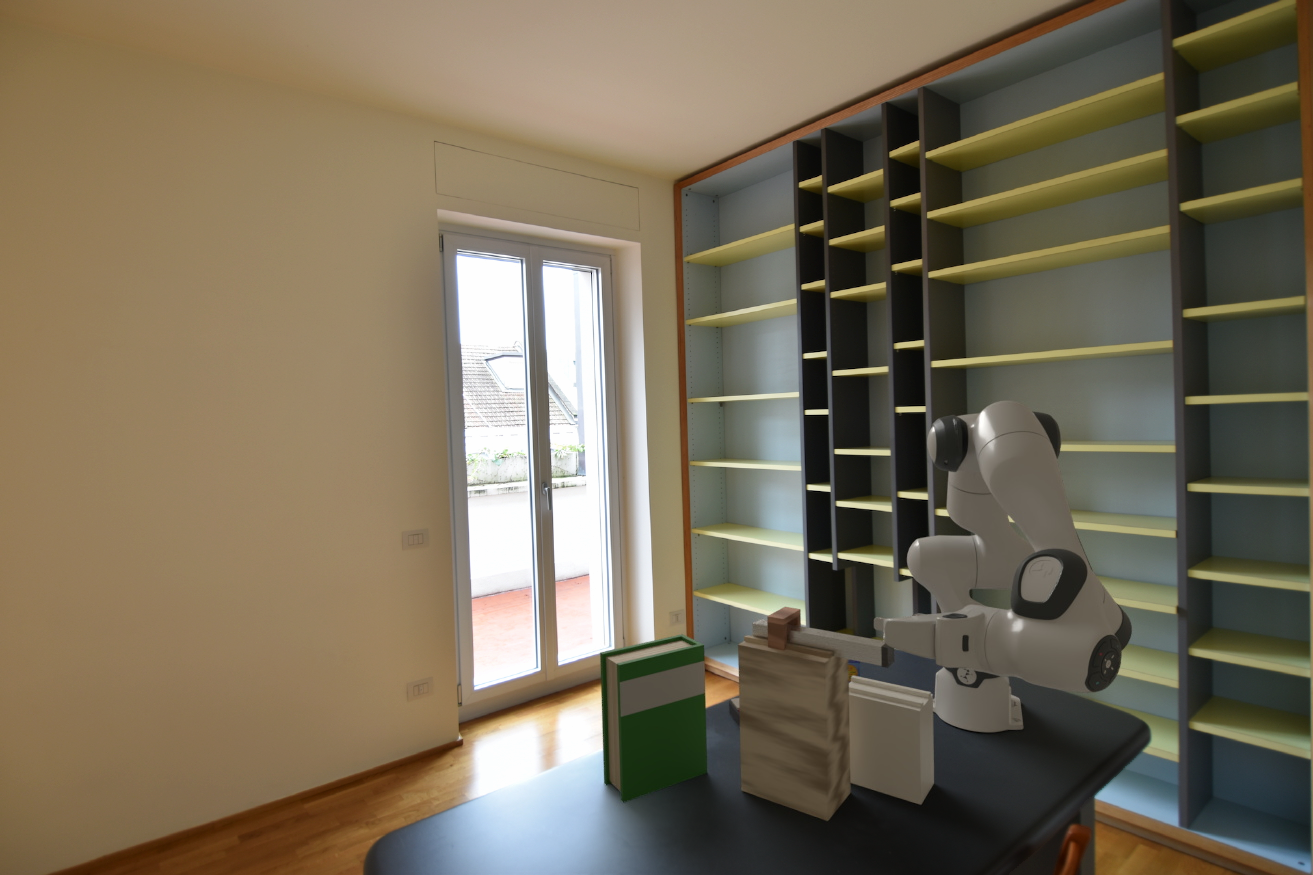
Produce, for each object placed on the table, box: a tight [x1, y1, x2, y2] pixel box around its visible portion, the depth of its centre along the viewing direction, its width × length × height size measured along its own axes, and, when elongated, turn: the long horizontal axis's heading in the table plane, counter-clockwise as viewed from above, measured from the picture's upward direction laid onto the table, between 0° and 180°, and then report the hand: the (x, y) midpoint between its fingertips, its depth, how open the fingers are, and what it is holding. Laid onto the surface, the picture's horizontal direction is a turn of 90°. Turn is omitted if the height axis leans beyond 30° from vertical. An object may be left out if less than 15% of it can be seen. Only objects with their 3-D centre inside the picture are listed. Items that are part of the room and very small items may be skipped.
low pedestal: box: [849, 676, 935, 806], centre depth 121 cm, size 8×14×17 cm, turn 53°
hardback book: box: [599, 633, 708, 803], centre depth 125 cm, size 18×7×24 cm, turn 121°
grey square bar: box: [751, 618, 895, 669], centre depth 115 cm, size 3×24×3 cm, turn 53°
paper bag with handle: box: [737, 606, 852, 822], centre depth 119 cm, size 10×16×31 cm, turn 53°
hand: (896, 620), depth 106 cm, fingers open, 8 cm apart
